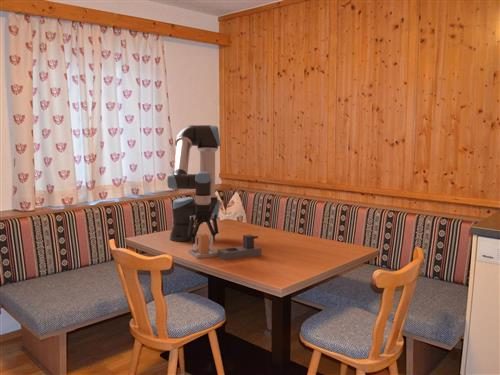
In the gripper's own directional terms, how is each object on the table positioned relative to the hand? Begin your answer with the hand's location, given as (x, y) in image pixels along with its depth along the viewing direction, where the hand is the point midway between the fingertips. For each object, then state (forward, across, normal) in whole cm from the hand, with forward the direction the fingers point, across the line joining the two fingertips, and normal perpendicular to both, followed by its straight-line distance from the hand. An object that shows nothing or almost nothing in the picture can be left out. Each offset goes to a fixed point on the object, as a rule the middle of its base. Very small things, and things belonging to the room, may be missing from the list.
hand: (203, 248), depth 229 cm
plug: (+3, 0, 0) cm, 3 cm away
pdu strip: (+3, +15, -10) cm, 18 cm away
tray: (+3, 0, 0) cm, 3 cm away
